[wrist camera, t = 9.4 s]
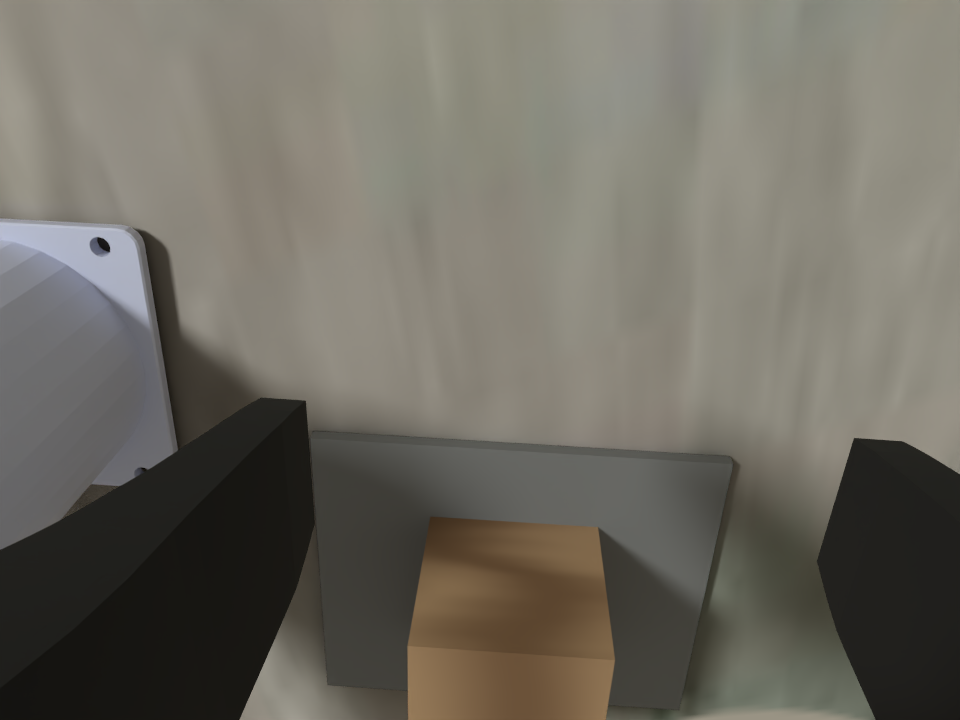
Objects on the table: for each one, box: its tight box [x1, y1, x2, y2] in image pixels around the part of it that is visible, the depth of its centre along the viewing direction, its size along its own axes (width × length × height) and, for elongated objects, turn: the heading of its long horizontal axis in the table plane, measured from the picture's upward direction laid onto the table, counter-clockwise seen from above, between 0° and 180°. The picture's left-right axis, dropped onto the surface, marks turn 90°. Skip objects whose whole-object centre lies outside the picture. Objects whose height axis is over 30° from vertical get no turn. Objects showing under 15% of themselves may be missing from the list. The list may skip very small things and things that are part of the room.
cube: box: [408, 517, 615, 720], centre depth 22 cm, size 5×5×5 cm
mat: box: [310, 431, 733, 710], centre depth 25 cm, size 12×10×1 cm
